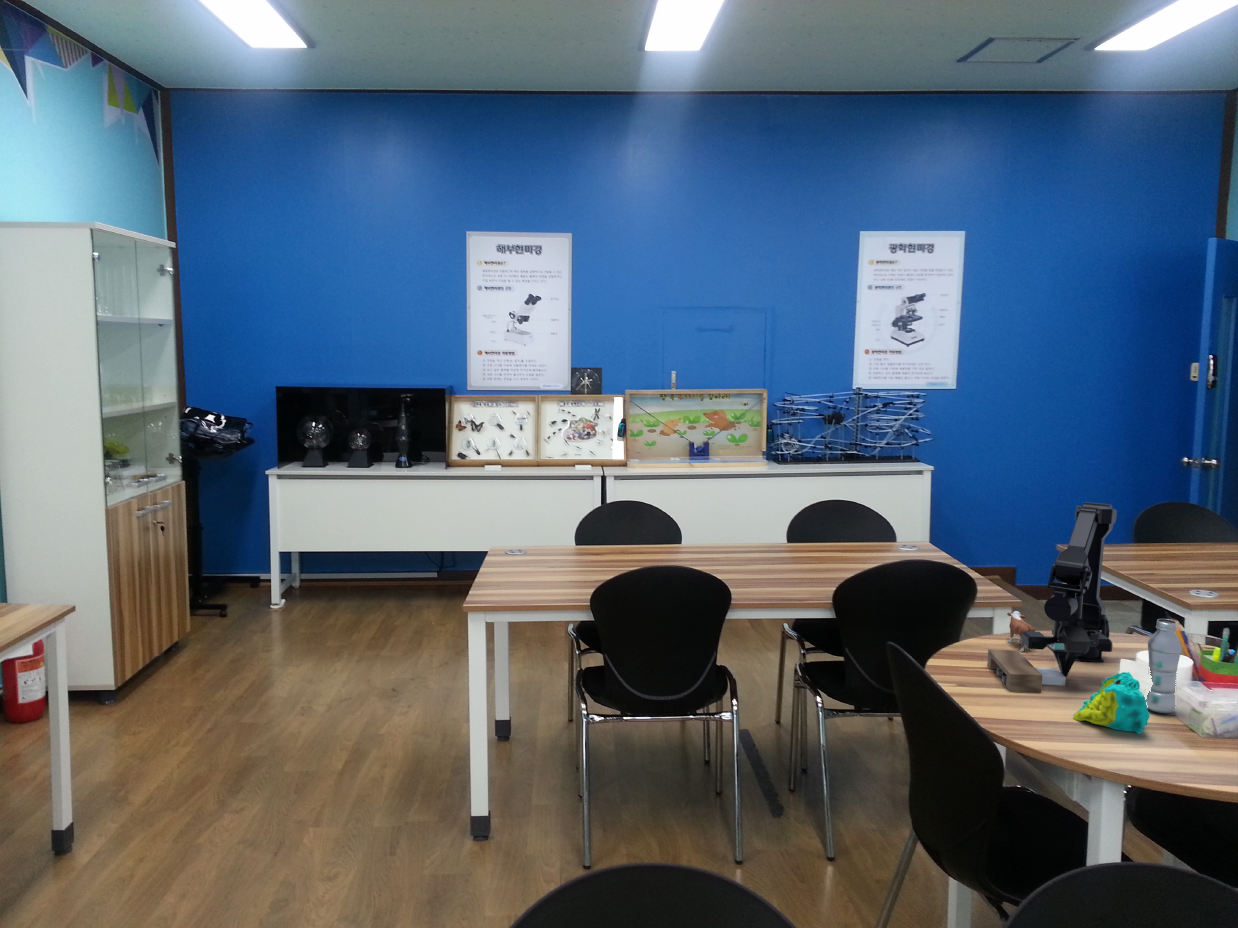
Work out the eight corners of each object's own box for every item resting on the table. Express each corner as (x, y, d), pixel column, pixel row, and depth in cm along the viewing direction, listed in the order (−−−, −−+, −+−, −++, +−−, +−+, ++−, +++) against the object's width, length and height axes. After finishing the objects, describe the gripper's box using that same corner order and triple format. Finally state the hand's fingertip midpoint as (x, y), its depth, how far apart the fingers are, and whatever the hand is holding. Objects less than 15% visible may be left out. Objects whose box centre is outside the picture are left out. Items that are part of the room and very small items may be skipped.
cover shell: (1055, 676, 227) (1056, 668, 226) (1064, 685, 221) (1065, 676, 220) (1008, 674, 228) (1008, 666, 227) (1015, 682, 222) (1016, 674, 222)
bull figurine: (1019, 638, 257) (1021, 609, 256) (1036, 654, 244) (1038, 623, 243) (1003, 637, 257) (1004, 608, 256) (1018, 653, 244) (1020, 622, 243)
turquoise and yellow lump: (1056, 689, 198) (1082, 650, 205) (1076, 734, 201) (1101, 694, 208) (1129, 697, 186) (1154, 656, 193) (1149, 745, 189) (1173, 703, 196)
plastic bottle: (1144, 714, 203) (1151, 623, 201) (1140, 703, 210) (1147, 615, 207) (1179, 718, 201) (1186, 627, 199) (1173, 707, 207) (1181, 618, 205)
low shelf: (1016, 667, 233) (1017, 650, 233) (1041, 692, 215) (1042, 675, 215) (987, 665, 234) (988, 649, 233) (1009, 691, 216) (1010, 673, 216)
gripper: (1038, 620, 214) (1034, 686, 216) (1124, 623, 213) (1120, 690, 214) (1022, 607, 225) (1018, 670, 227) (1104, 609, 224) (1100, 673, 225)
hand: (1064, 676), depth 223 cm, fingers closed
